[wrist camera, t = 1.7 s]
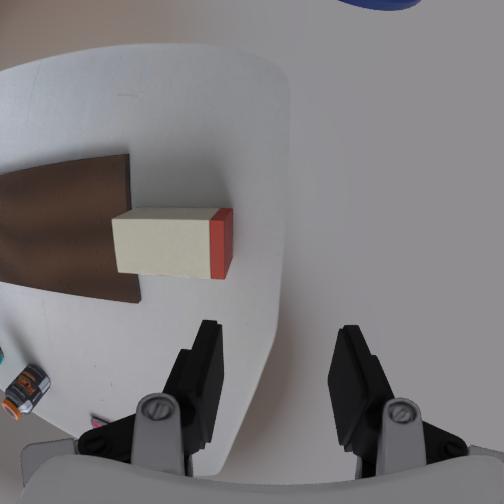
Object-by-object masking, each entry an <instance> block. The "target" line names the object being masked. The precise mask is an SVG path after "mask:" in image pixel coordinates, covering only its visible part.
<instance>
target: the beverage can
mask: <svg viewBox="0 0 504 504" xmlns="http://www.w3.org/2000/svg"><path fill="white" fill-rule="evenodd" d="M2 361H3V353H2V351H1V349H0V365H1V363H2Z"/></svg>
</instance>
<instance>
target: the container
mask: <svg viewBox="0 0 504 504" xmlns="http://www.w3.org/2000/svg"><path fill="white" fill-rule="evenodd" d="M112 228H113V237H114V246H115V253H116V261H117V268H118V272H121V273H133V274H146V275H160V276H174V277H190V278H206V279H225V278H226V275H227V272H228V269H229V266H230V264H231V261H232V236H233V209H230V208H134V209H132V210H130V211H128V212H125V213H123V214H121V215H119V216H117V217H115V218H113V219H112Z"/></svg>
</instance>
